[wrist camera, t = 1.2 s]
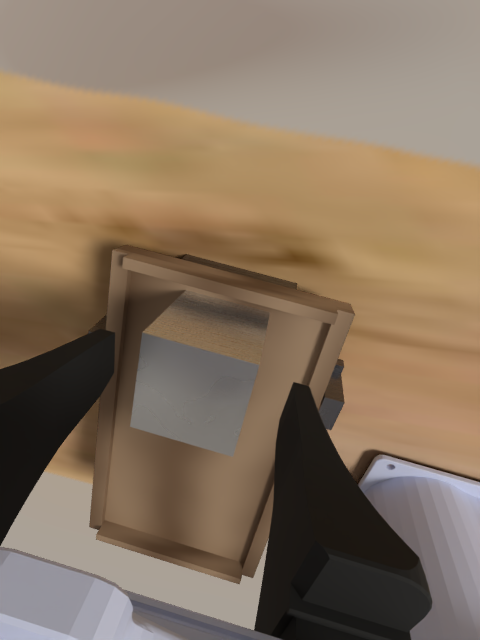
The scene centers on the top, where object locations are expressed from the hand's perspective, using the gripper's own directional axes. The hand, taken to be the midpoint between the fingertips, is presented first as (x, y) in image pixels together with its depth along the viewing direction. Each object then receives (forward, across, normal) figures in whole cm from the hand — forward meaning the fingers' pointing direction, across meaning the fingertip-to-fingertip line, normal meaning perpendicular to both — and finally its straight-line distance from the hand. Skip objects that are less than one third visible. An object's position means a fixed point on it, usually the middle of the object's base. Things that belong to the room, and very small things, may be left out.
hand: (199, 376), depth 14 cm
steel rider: (+3, 0, 0) cm, 3 cm away
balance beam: (+4, 0, +3) cm, 5 cm away
